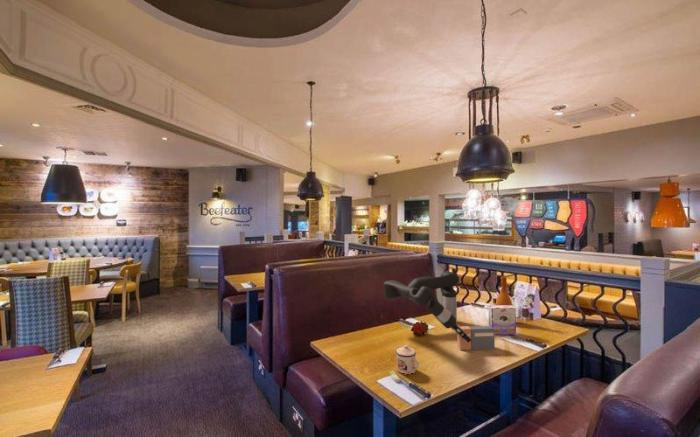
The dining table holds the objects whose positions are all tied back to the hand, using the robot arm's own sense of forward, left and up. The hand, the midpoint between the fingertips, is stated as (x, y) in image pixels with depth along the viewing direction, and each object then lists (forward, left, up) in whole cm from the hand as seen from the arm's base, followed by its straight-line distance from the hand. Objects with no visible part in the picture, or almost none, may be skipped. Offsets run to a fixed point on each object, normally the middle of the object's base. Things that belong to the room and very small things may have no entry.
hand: (466, 337), depth 173 cm
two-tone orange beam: (-1, -1, -6) cm, 6 cm away
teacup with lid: (-11, -41, -6) cm, 43 cm away
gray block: (+6, +5, -6) cm, 10 cm away
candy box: (+8, +33, -6) cm, 35 cm away
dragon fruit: (-29, +1, -6) cm, 30 cm away
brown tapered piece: (+3, +54, -6) cm, 54 cm away
